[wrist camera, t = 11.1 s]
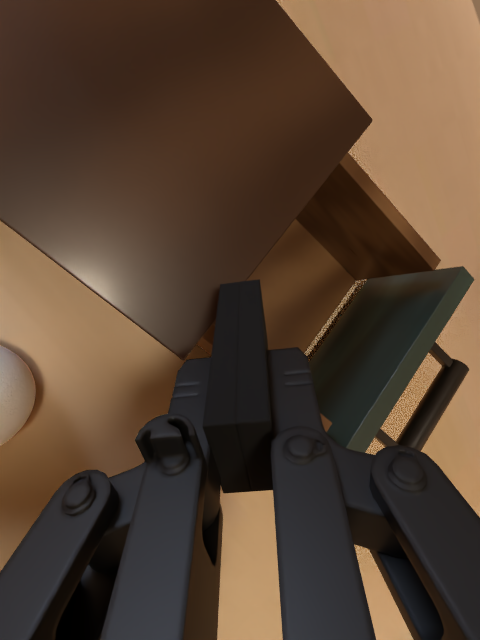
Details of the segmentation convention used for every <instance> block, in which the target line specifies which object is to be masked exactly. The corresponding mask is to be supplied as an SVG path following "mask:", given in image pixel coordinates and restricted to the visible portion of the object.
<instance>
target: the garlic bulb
mask: <svg viewBox="0 0 480 640" xmlns="http://www.w3.org/2000/svg"><path fill="white" fill-rule="evenodd" d="M35 396H36V387H35V381H34V377H33V375H32V373H31V370H30V369H29V367H28V366H27V364H26V363H25V362H24V361H23V360H22V359H21V358H20V357H19V356H18V355H16V354H15V353H14V352H12V351H11V350H9V349H7V348H5V347H2V346H0V446H1V445H2V444H4V443H5V442H7V441H8V440H10V439H11V438H12V437H13V436H14V435H15V434H16V433H17V432H18V431H19V430H20V429H21V428H22V427H23V425H24V424H25V422H26V421H27V419H28V417H29V415H30V413H31V411H32V409H33V406H34V402H35Z"/></svg>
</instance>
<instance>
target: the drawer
mask: <svg viewBox="0 0 480 640" xmlns="http://www.w3.org/2000/svg"><path fill="white" fill-rule="evenodd" d="M440 261H441V260H440V259H439V257H438V256H437V255H436V254H435V253H434V252H433V251H432V249H431V248H430V247H429V246H428V245H427V244H426V242H425V241H424V240H423V239H422V238H421V237H420V235H419V234H418V233H417V232H416V231H415V230H414V228H413V227H412V226H411V225H410V224H409V223H408V222H407V220H406V219H405V218H404V217H403V216H402V215H401V213H400V212H399V211H398V210H397V209H396V208H395V206H394V205H393V204H392V203H391V202H390V201H389V199H388V198H387V197H386V196H385V195H384V194H383V193H382V191H381V190H380V189H379V188H378V187H377V186H376V184H375V183H374V182H373V181H372V180H371V179H370V177H369V176H368V175H367V174H366V173H365V172H364V170H363V169H362V168H361V167H360V166H359V165H358V164H357V162H356V161H355V160H354V159H353V158H352V157H351V155H350V154H349V153H347V154H346V155H345V156H344V158H343V159H342V160H341V162H340V163H339V164H338V165H337V167H336V168H335V169H334V170H333V172H332V173H331V174H330V176H329V177H328V178H327V179H326V181H325V182H324V183H323V184H322V186H321V187H320V188H319V189H318V191H317V192H316V193H315V195H314V196H313V197H312V198H311V200H310V201H309V202H308V203H307V205H306V206H305V207H304V208H303V210H302V211H301V212H300V214H299V215H298V216H297V217H296V219H295V220H294V221H293V222H292V224H291V225H290V226H289V227H288V229H287V230H286V231H285V233H284V234H283V235H282V236H281V238H280V239H279V240H278V241H277V243H276V244H275V245H274V247H273V248H272V249H271V250H270V252H269V253H268V254H267V255H266V257H265V258H264V259H263V260H262V262H261V263H260V264H259V266H258V267H257V268H256V269H255V271H254V272H253V273H252V274H251V276H250V277H249V278H248V279H247V281H250V280H258V279H260V285H261V293H262V300H263V308H264V316H265V324H266V332H267V340H268V350H275V349H285V348H294V347H299V349H300V350H301V351H302V352H303V353H304V352H305V351H306V349H307V348H308V347H309V345H310V344H311V342H312V341H313V340H314V338H315V337H316V335H317V334H318V333H319V331H320V330H321V328H322V327H323V326H324V324H325V323H326V321H327V320H328V319H329V317H330V316H331V314H332V313H333V312H334V310H335V309H336V307H337V306H338V305H339V303H340V302H341V300H342V299H343V298H344V296H345V295H346V293H347V292H348V291H349V289H350V288H351V286H352V285H353V284H354V282H355V281H356V280H364V279H367V281H366V282H365V284H364V285H363V286H362V288H361V289H360V291H359V292H358V294H357V295H356V296H355V298H354V299H353V301H352V302H351V303H350V305H349V306H348V308H347V309H346V311H345V312H344V313H343V315H342V316H341V318H340V319H339V320H338V322H337V323H336V325H335V326H334V328H333V329H332V330H331V332H330V333H329V335H328V336H327V337H326V339H325V340H324V342H323V343H322V345H321V346H320V347H319V349H318V350H317V352H316V353H315V354H314V356H313V357H312V359H311V360H310V361H309V366H310V371H311V375H312V380H313V384H314V388H315V393H316V397H317V402H318V406H319V410H320V415H321V419H322V424H323V426H324V429H325V431H326V432H327V434H328V435H329V437H330V438H332V439H333V440H334V441H335V442H336V443H338V444H339V445H341V446H343V447H345V448H348V449H351V450H354V451H358V452H363V453H365V452H366V450H367V448H368V447H369V445H370V444H371V442H372V441H373V439H374V438H376V439H377V440H378V441H379V442H380V443H381V444H383V445H384V446H385V447H387V446H395V445H402V446H407V447H412V448H415V449H417V450H419V451H421V450H422V448H423V446H424V445H425V443H426V441H427V440H428V438H429V436H430V435H431V433H432V431H433V430H434V428H435V426H436V425H437V423H438V421H439V420H440V418H441V416H442V415H443V413H444V411H445V410H446V408H447V406H448V405H449V403H450V401H451V400H452V398H453V396H454V394H455V393H456V391H457V389H458V388H459V386H460V384H461V383H462V381H463V379H464V378H465V376H466V374H467V373H468V371H469V368H468V367H467V366H466V365H465V364H464V363H462V362H460V361H458V360H455V359H451V358H450V357H449V356H448V355H447V354H446V353H445V352H444V351H443V350H442V349H441V348H440V347H439V345H438V344H437V343H436V342H435V341H436V339H437V338H438V336H439V335H440V333H441V331H442V330H443V328H444V327H445V325H446V324H447V322H448V320H449V319H450V317H451V316H452V314H453V313H454V311H455V309H456V308H457V306H458V305H459V303H460V301H461V300H462V298H463V297H464V295H465V294H466V292H467V290H468V289H469V287H470V286H471V284H472V283H473V281H474V278H473V277H472V276H471V275H470V274H469V273H468V271H467V270H466V269H465V268H464V267H463V266H462V267H454V268H446V269H439V270H435V269H436V267H437V266H438V264H439V263H440ZM215 323H216V320H215V321H214V323H213V324H212V325H211V326H210V328H209V329H208V330H207V331H206V333H205V334H204V335H203V337H202V338H201V339H200V340H199V342H198V343H197V345H198V346H199V347H201V348H202V349H203V350H204V351H206V352H207V353H208V354H210V355H211V354H212V347H213V339H214V331H215ZM428 352H429V353H430V354H431V355H432V356H433V357H434V358H435V359H436V360H437V361H438V362H439V363H440V364H441V365H442V367H441V369H440V371H439V372H438V374H437V376H436V377H435V379H434V380H433V382H432V384H431V385H430V387H429V389H428V390H427V392H426V393H425V395H424V397H423V398H422V400H421V401H420V403H419V405H418V406H417V408H416V410H415V411H414V413H413V414H412V416H411V418H410V419H409V421H408V422H407V424H406V426H405V427H404V429H403V431H402V432H401V434H400V435H399V437H398V439H397V440H396V442H395V441H394V440H393V439H392V438H391V437H389V436H388V435H387V434H386V433H385V432H384V431H382V430H381V429H380V428H381V426H382V425H383V423H384V422H385V420H386V418H387V417H388V415H389V414H390V412H391V410H392V409H393V407H394V406H395V404H396V403H397V401H398V399H399V398H400V396H401V395H402V393H403V392H404V390H405V388H406V387H407V385H408V384H409V382H410V380H411V379H412V377H413V376H414V374H415V373H416V371H417V369H418V368H419V366H420V365H421V363H422V362H423V360H424V358H425V357H426V355H427V354H428Z"/></svg>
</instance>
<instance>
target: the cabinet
mask: <svg viewBox="0 0 480 640" xmlns="http://www.w3.org/2000/svg"><path fill="white" fill-rule="evenodd" d="M371 122H372V118H371V117H370V116H369V115H368V114H367V112H366V111H365V110H364V109H363V107H362V106H361V105H360V104H359V102H358V101H357V100H356V99H355V98H354V96H353V95H352V94H351V93H350V91H349V90H348V89H347V88H346V86H345V85H344V84H343V83H342V81H341V80H340V79H339V78H338V77H337V75H336V74H335V73H334V72H333V70H332V69H331V68H330V67H329V65H328V64H327V63H326V62H325V60H324V59H323V58H322V57H321V56H320V54H319V53H318V52H317V51H316V49H315V48H314V47H313V46H312V44H311V43H310V42H309V41H308V40H307V38H306V37H305V36H304V35H303V33H302V32H301V31H300V30H299V28H298V27H297V26H296V25H295V23H294V22H293V21H292V20H291V19H290V17H289V16H288V15H287V14H286V12H285V11H284V10H283V9H282V7H281V6H280V5H279V4H278V2H277V1H276V0H0V220H1V221H2V222H3V223H4V224H6V225H7V226H8V227H10V228H11V229H12V230H14V231H15V232H16V233H17V234H19V235H20V236H21V237H23V238H24V239H25V240H27V241H28V242H29V243H31V244H32V245H33V246H34V247H36V248H37V249H38V250H40V251H41V252H42V253H44V254H45V255H46V256H47V257H49V258H50V259H51V260H53V261H54V262H55V263H57V264H58V265H59V266H60V267H62V268H63V269H64V270H66V271H67V272H68V273H70V274H71V275H72V276H74V277H75V278H76V279H77V280H79V281H80V282H81V283H83V284H84V285H85V286H87V287H88V288H89V289H90V290H92V291H93V292H94V293H96V294H97V295H98V296H100V297H101V298H102V299H103V300H105V301H106V302H107V303H109V304H110V305H111V306H113V307H114V308H115V309H117V310H118V311H119V312H120V313H122V314H123V315H124V316H126V317H127V318H128V319H130V320H131V321H132V322H133V323H135V324H136V325H137V326H139V327H140V328H141V329H143V330H144V331H145V332H146V333H148V334H149V335H150V336H152V337H153V338H154V339H156V340H157V341H158V342H160V343H161V344H162V345H163V346H165V347H166V348H167V349H169V350H170V351H171V352H173V353H174V354H175V355H176V356H178V357H179V358H180V359H182V360H184V359H185V358H186V357H187V356H188V354H189V353H190V352H191V350H192V349H193V348H194V347H195V345H196V344H197V343H198V342H199V340H200V339H201V338H202V337H203V335H204V334H205V333H206V331H207V330H208V329H209V328H210V326H211V325H212V324H213V323H214V321H215V320H216V315H217V307H218V299H219V291H220V284H226V283H234V282H242V281H247V279H248V278H249V277H250V276H251V274H252V273H253V272H254V271H255V269H256V268H257V267H258V266H259V264H260V263H261V262H262V260H263V259H264V258H265V257H266V255H267V254H268V253H269V252H270V250H271V249H272V248H273V247H274V245H275V244H276V243H277V241H278V240H279V239H280V238H281V236H282V235H283V234H284V233H285V231H286V230H287V229H288V227H289V226H290V225H291V224H292V222H293V221H294V220H295V219H296V217H297V216H298V215H299V214H300V212H301V211H302V210H303V208H304V207H305V206H306V205H307V203H308V202H309V201H310V200H311V198H312V197H313V196H314V195H315V193H316V192H317V191H318V189H319V188H320V187H321V186H322V184H323V183H324V182H325V181H326V179H327V178H328V177H329V176H330V174H331V173H332V172H333V170H334V169H335V168H336V167H337V165H338V164H339V163H340V162H341V160H342V159H343V158H344V156H345V155H346V154H347V153H348V151H349V150H350V149H351V148H352V146H353V145H354V144H355V143H356V141H357V140H358V139H359V137H360V136H361V135H362V134H363V132H364V131H365V130H366V129H367V127H368V126H369V125H370V124H371Z"/></svg>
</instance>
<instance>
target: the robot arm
mask: <svg viewBox="0 0 480 640" xmlns="http://www.w3.org/2000/svg"><path fill="white" fill-rule="evenodd" d="M172 396H173V398H172V399H171V403H170V407H169V411H168V414H165V415H161V416H158V417H156V418H154V419H153V420H151V421H149V422H148V423H147V424H146V425H145V426H144V427H143V428H142V429H141V430H140V431H139V433H138V435H137V437H136V439H135V442H136V444H137V446H138V448H139V450H140V452H141V454H142V456H143V458H144V460H145V462H144V463H142V464H141V465H139V466H137V467H135V468H133V469H131V470H128V471H125V472H123V473H120V474H118V475H115V476H112V477H110V478H108V477H107V475H106V474H105V473H103V472H101V471H99V470H86V471H83V472H80V473H78V474H75V475H74V476H72V477H71V478H70V479H68V480H67V481H65V482H64V483H63V484H62V485H61V486H60V488H59V489H58V490H57V491H56V492H55V493H54V495H53V496H52V498H51V499H50V501H49V502H48V504H47V505H46V506H45V508H44V509H43V511H42V512H41V514H40V515H39V517H38V518H37V520H36V521H35V522H34V524H33V525H32V527H31V528H30V530H29V531H28V533H27V534H26V536H25V537H24V538H23V540H22V541H21V543H20V544H19V546H18V547H17V549H16V550H15V552H14V553H13V554H12V556H11V557H10V559H9V560H8V562H7V563H6V565H5V566H4V568H3V569H2V570H1V572H0V640H217V628H218V607H219V587H220V567H221V547H222V526H223V514H222V507H221V504H220V489H221V486H222V490H223V493H235V492H250V491H264V490H273V495H274V510H275V526H276V541H277V556H278V571H279V587H280V602H281V617H282V632H283V640H376V637H375V633H374V629H373V624H372V620H371V616H370V611H369V607H368V603H367V599H366V594H365V590H364V586H363V581H362V577H361V573H360V569H359V564H358V560H357V556H356V551H355V547H354V544H355V545H358V546H362V547H365V548H368V549H369V550H370V552H371V554H372V556H373V558H374V560H375V562H376V564H377V566H378V568H379V570H380V572H381V574H382V576H383V578H384V580H385V582H386V584H387V586H388V588H389V590H390V592H391V595H392V597H393V599H394V601H395V603H396V605H397V607H398V609H399V611H400V613H401V615H402V617H403V619H404V621H405V623H406V625H407V627H408V629H409V631H410V633H411V635H412V637H413V639H414V640H480V518H479V516H478V515H477V514H476V513H475V511H474V510H473V509H472V508H471V506H470V505H469V504H468V503H467V501H466V500H465V499H464V498H463V496H462V495H461V494H460V493H459V491H458V490H457V489H456V488H455V486H454V485H453V484H452V483H451V481H450V480H449V479H448V478H447V476H446V475H445V474H444V473H443V471H442V470H441V469H440V467H439V466H438V465H437V464H436V463H435V462H434V461H433V460H432V459H431V458H430V457H429V456H427V455H426V454H425V453H423V452H421V451H419V450H417V449H415V448H412V447H407V446H402V445H395V446H387V447H385V448H383V449H382V450H380V451H378V452H377V453H376V455H372V454H368V453H363V452H358V451H354V450H351V449H348V448H345V447H343V446H341V445H339V444H338V443H336V442H335V441H334V440H333V439H332V438H330V437H329V435H328V434H327V432H326V431H325V429H324V426H323V424H322V419H321V415H320V410H319V406H318V402H317V397H316V393H315V388H314V384H313V380H312V375H311V371H310V366H309V362H308V358H307V356H306V355H305V354H304V353H303V352H302V351H301V350H300V349H299V347H294V348H285V349H275V350H268V340H267V332H266V324H265V316H264V308H263V300H262V293H261V285H260V279H258V280H250V281H242V282H234V283H226V284H220V291H219V299H218V307H217V315H216V323H215V331H214V339H213V347H212V354H211V357H209V358H199V359H190V360H186V362H185V363H184V364H183V366H182V367H181V368H180V370H179V371H178V373H177V377H176V382H175V387H174V390H173V394H172Z"/></svg>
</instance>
